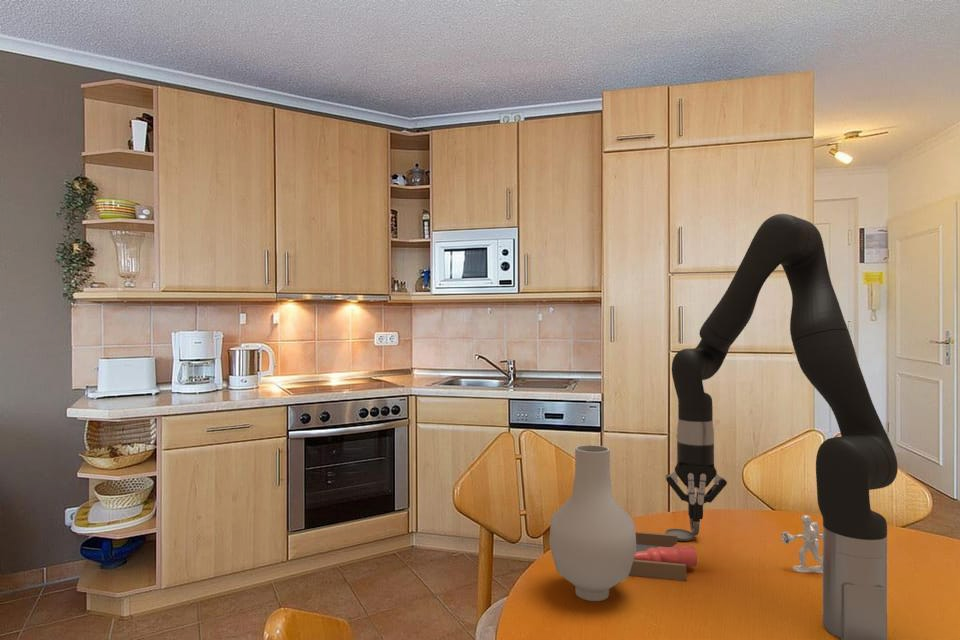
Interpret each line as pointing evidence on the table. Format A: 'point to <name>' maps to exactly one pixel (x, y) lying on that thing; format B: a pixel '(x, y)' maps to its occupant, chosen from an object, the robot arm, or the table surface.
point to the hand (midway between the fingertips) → (695, 520)
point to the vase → (592, 529)
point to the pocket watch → (685, 532)
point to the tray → (654, 567)
